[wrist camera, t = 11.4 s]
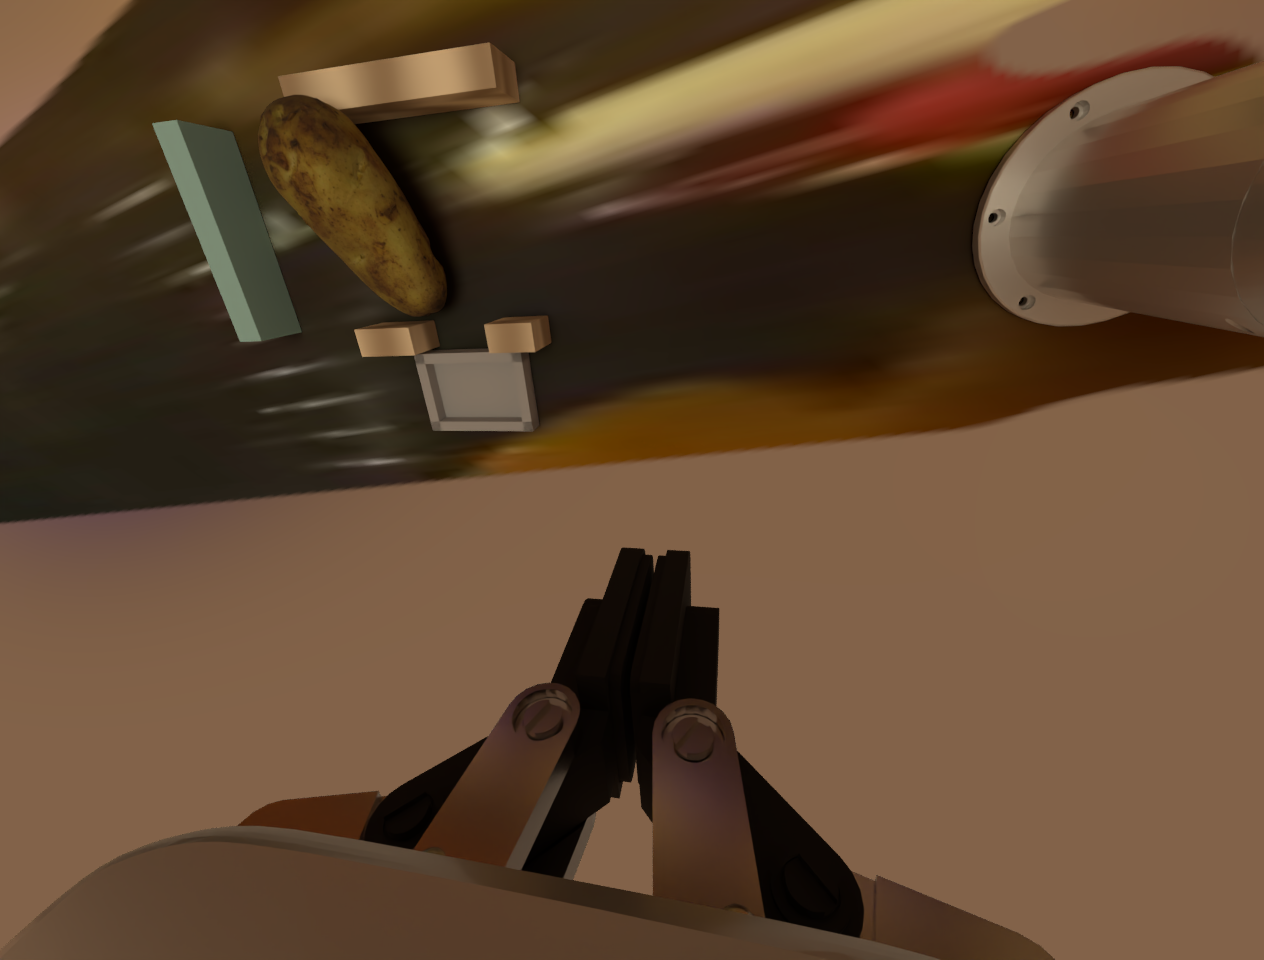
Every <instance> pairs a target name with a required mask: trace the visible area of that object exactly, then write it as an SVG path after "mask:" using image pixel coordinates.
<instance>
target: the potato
mask: <svg viewBox="0 0 1264 960" xmlns="http://www.w3.org/2000/svg"><path fill="white" fill-rule="evenodd" d="M258 144H259V151H260V156H261V159H262V162H263V165H264V167H265V170H266V172H267V174H268V176H269V178H270V180H271V182H272V184H273V185H274V186H275V188H276V189H277V190H278V192H279V193H280V194H281V195H282V196H283V197H284V198H285V200H286V201H287V202H288V203H289V204H290V205H291V206H292V207H293V208H294V209H295V210H296V211H297V212H298V214H299V215H300V216H301V217H302V219H303V220H304V221H305V223H306V224H307V225H309V226H310V227H311V228H312V229H313V231H314V232H315V233H316V234H317V235H318V236H319V237H320V238H321V239H322V240H323V241H324V242H325V243H326V244H327V245H328V246H329V247H330V248H331V249H332V250H333V251H334V252H335V253H336V254H337V255H338V256H339V257H340V258H341V259H342V260H343V261H344V262H345V263H346V264H347V266H348V267H349V268H350V269H351V270H352V271H353V272H354V273H355V274H356V275H357V276H358V277H359V278H360V279H361V280H362V281H363V282H364V283H365V284H366V285H367V286H368V287H369V288H370V289H371V290H372V291H374V292H375V293H376V294H377V295H378V296H379V297H381V298H382V299H383V300H385V301H386V302H387V303H389V304H390V305H392V306H393V307H395V308H396V309H398V310H400V311H402V312H404V313H406V314H408V315H410V316H415V317H420V316H429V315H430V314H431V313H436V312H438V311H440V310H441V309H442V308H443V307H444V304H445V302H446V297H447V283H446V275H445V273H444V270H443V267H442V265H441V264H440V263H439V262H438V261H437V260H436V258H435V257H434V255H433V253H432V251H431V248H430V241H429V238H428V236H427V235H426V233H425V231H424V229H423V228H422V226H421V224H420V223H419V221H418V220H417V218H416V216H415V214H414V212H413V210H412V208H411V206H410V204H409V202H408V201H407V199H406V197H405V195H404V194H403V192H402V191H401V189H400V188H399V186H398V185H397V183H396V182H395V180H394V179H393V177H392V175H391V174H390V173H389V171H388V170H387V168H386V167H385V165H384V164H383V162H382V161H381V159H380V158H379V157H378V156H377V154H376V153H375V151H374V150H373V148H372V147H371V145H370V144H369V142H368V140H367V139H366V138H365V137H364V135H363V134H362V133H361V132H360V130H359V129H358V128H357V127H356V125H355V124H354V123H353V122H352V121H351V120H350V119H349V118H348V117H347V116H346V115H345V114H344V113H342V112H341V111H339V110H338V109H336V108H334V107H333V106H331V105H329V104H327V103H325V102H323V101H321V100H319V99H317V98H313V97H310V96H307V95H290V96H286V97H283V98H280V99H277V100H275V101H273V102H272V103H270V104H269V105H268V106H267V107H266V109H265V111H264V112H263V114H262V115H261V120H260V127H259V131H258Z"/></svg>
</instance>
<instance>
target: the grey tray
mask: <svg viewBox="0 0 1264 960" xmlns="http://www.w3.org/2000/svg"><path fill="white" fill-rule="evenodd" d="M414 358H415V361H416V365H417V369H418V373H419V377H420V381H421V385H422V389H423V393H424V397H425V401H426V405H427V409H428V413H429V416H430V420H431V424H432V428H433V431H534V430H535V429H536V428H537V427H538V426H539V425H540V424H539V418H538V411H537V405H536V398H535V392H534V385H533V379H532V372H531V366H530V359H529V352H519V353H489V348H488V349H453V350H428V351H425V352H423V353H420V354H417V355H414Z"/></svg>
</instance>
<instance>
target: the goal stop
mask: <svg viewBox="0 0 1264 960" xmlns="http://www.w3.org/2000/svg"><path fill="white" fill-rule="evenodd" d="M152 124H153V127H154V129H155V132H156V134H157V137H158V139H159V142H160V144H161V147H162V149H163V152H164V154H165V157H166V159H167V162H168V164H169V167H170V169H171V172H172V174H173V177H174V179H175V181H176V184H177V186H178V189H179V191H180V194H181V196H182V199H183V201H184V204H185V206H186V209H187V211H188V214H189V216H190V219H191V221H192V224H193V226H194V229H195V231H196V234H197V236H198V238H199V241H200V243H201V246H202V248H203V251H204V253H205V256H206V258H207V261H208V263H209V266H210V268H211V271H212V273H213V276H214V278H215V281H216V283H217V286H218V288H219V291H220V293H221V295H222V298H223V300H224V303H225V305H226V308H227V310H228V313H229V315H230V318H231V320H232V323H233V325H234V328H235V330H236V333H237V335H238V338H239V340H240V342H248V341H264V340H268V339H273V338H278V337H282V336H287V335H291V334H296V333H300V332H302V331H301V328H300V325H299V322H298V319H297V316H296V313H295V311H294V308H293V305H292V302H291V299H290V296H289V293H288V290H287V287H286V285H285V282H284V279H283V276H282V273H281V270H280V267H279V264H278V262H277V259H276V256H275V253H274V250H273V247H272V244H271V241H270V238H269V236H268V233H267V230H266V227H265V224H264V221H263V218H262V215H261V212H260V210H259V207H258V204H257V201H256V198H255V195H254V192H253V189H252V187H251V184H250V181H249V178H248V175H247V172H246V169H245V166H244V163H243V161H242V158H241V155H240V152H239V149H238V146H237V143H236V140H235V137H234V135H233V132H231V131H227V130H222V129H217V128H212V127H208V126H203V125H198V124H193V123H189V122H184V121H179V120H173V121H166V122H159V123H152Z"/></svg>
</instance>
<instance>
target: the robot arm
mask: <svg viewBox="0 0 1264 960" xmlns="http://www.w3.org/2000/svg"><path fill="white" fill-rule="evenodd" d="M1071 109H1073V110H1074V115H1073V117H1072V118H1070V110H1071ZM991 213H993V214H994V219H993V221H992V222H990V223H989V222H988V218H989V215H990V214H991ZM972 250H973V257H974V265H975V268H976V271H977V274H978V276H979V279H980V281H981V284H982V285H983V287H984V288H985V290H986V291H987V292H988V294H989V295H990V297H991V298H992V299H993V300H994V301H995V302H996V303H998V304H999V305H1000V306H1001V307H1002V308H1003V309H1005V310H1006V311H1008V312H1010V313H1012V314H1014V315H1016V316H1018V317H1020V318H1022V319H1026V320H1029V321H1032V322H1036V323H1039V324H1046V325H1053V326H1082V325H1088V324H1093V323H1098V322H1103V321H1107V320H1110V319H1113V318H1116V317H1118V316H1121V315H1124V314H1127V313H1130V312H1133V313H1138V314H1144V315H1149V316H1154V317H1159V318H1165V319H1170V320H1175V321H1181V322H1186V323H1191V324H1197V325H1202V326H1207V327H1213V328H1218V329H1223V330H1229V331H1234V332H1239V333H1245V334H1250V335H1255V336H1261V337H1264V61H1261V62H1258V63H1255V64H1252V65H1249V66H1246V67H1243V68H1240V69H1238V70H1235V71H1232V72H1229V73H1226V74H1223V75H1220V76H1217V77H1213V76H1211V75H1210V74H1208V73H1206V72H1203V71H1198V70H1194V69H1189V68H1185V67H1180V66H1177V67H1149V68H1145V69H1140V70H1135V71H1130V72H1126V73H1122V74H1119V75H1117V76H1114V77H1112V78H1109V79H1106V80H1104V81H1101V82H1099V83H1096V84H1094V85H1092V86H1090V87H1088V88H1086V89H1084V90H1082V91H1080V92H1078V93H1076V94H1074V95H1072V96H1070V97H1069V98H1067V99H1066V100H1064V101H1063V102H1061V103H1060V104H1058V105H1057V106H1055V107H1054V108H1052V109H1051V110H1050V111H1048V112H1047V113H1045V114H1044V115H1043V116H1042V117H1041V118H1040V119H1039V120H1038V121H1036V122H1035V123H1034V124H1033V125H1032V126H1031V127H1030V128H1029V129H1028V130H1026V131H1025V132H1024V133H1023V134H1022V136H1021V137H1020V138H1019V139H1018V140H1017V141H1016V143H1015V144H1014V145H1013V146H1012V147H1011V148H1010V150H1009V151H1008V152H1007V153H1006V154H1005V156H1004V157H1003V159H1002V160H1001V162H1000V164H999V165H998V167H997V168H996V170H995V171H994V173H993V175H992V176H991V178H990V180H989V182H988V184H987V186H986V189H985V191H984V193H983V195H982V198H981V200H980V202H979V206H978V210H977V214H976V218H975V222H974V227H973V241H972ZM1022 297H1023V298H1024V301H1023V302H1022V303H1021V304H1020V305H1019V301H1020V299H1021V298H1022ZM718 645H719V608H709V607H695V606H691V572H690V551H676V550H667V554H666V556H658V559H657V563H656V567H655V572H654V568H653V556H652V555H645V550H644V549H637V548H621V551H620V553H619V556H618V559H617V562H616V564H615V567H614V570H613V573H612V575H611V578H610V581H609V584H608V587H607V589H606V592H605V595H604V597H603V599H589V598H588V599H586V600H585V602H584V604H583V606H582V608H581V611H580V613H579V616H578V618H577V621H576V623H575V625H574V628H573V630H572V632H571V635H570V637H569V640H568V642H567V645H566V647H565V650H564V652H563V654H562V657H561V660H560V662H559V664H558V667H557V669H556V671H555V674H554V677H553V679H552V681H551V683H543V684H537V685H535V686H532V687H530V688H527V689H526V690H524V691H523V692H521V693H520V694H518V695H517V696H516V697H515V699H514V700H513V701H512V702H511V703H510V704H509V706H508V707H507V709H506V710H505V712H504V713H503V715H502V716H501V718H500V719H499V721H498V722H497V724H496V725H495V727H494V729H493V730H492V731H491V733H490V734H489V736H488V737H486V738H484V739H482V740H480V741H479V742H477V743H475V744H474V745H472V746H470V747H468V748H466V749H465V750H463V751H461V752H459V753H457V754H456V755H454V756H452V757H450V758H449V759H447V760H445V761H443V762H442V763H440V764H438V765H437V766H435V767H433V768H431V769H429V770H427V771H426V772H424V773H422V774H420V775H419V776H417V777H415V778H413V779H412V780H410V781H408V782H407V783H405V784H403V785H401V786H400V787H398V788H397V789H395V790H394V791H393V792H391V793H390V794H389V795H388V796H381V795H380V793H379V791H371V792H361V793H350V794H340V795H330V796H319V797H309V798H300V799H299V798H298V799H288V800H281V801H277V802H274V803H270V804H267V805H265V806H264V807H262V808H260V809H258V810H256V811H255V812H253V813H252V814H250V815H249V816H248V817H247V818H246V819H245V820H243V821H242V822H241V823H240V824H239V825H238V826H229V827H220V828H211V829H205V830H200V831H195V832H190V833H186V834H182V835H178V836H174V837H170V838H166V839H163V840H159V841H157V842H154V843H151V844H148V845H145V846H142V847H140V848H138V849H135V850H133V851H130V852H128V853H125V854H123V855H121V856H119V857H117V858H115V859H113V860H111V861H110V862H108V863H106V864H104V865H103V866H101V867H99V868H98V869H96V870H95V871H94V872H92V873H90V874H89V875H88V876H86V877H85V878H83V879H82V880H81V881H79V882H78V883H77V884H76V885H74V886H73V887H72V888H71V889H69V890H68V891H67V892H65V893H64V894H63V895H62V896H61V897H59V898H58V899H57V900H56V901H54V902H53V903H52V904H51V905H50V906H49V907H47V909H45V910H44V911H43V912H42V913H40V914H39V915H38V916H37V917H36V918H35V919H34V920H33V921H32V922H31V923H29V924H28V925H27V926H26V927H25V928H24V929H23V930H22V931H20V932H19V933H18V934H17V935H16V936H15V937H14V938H13V939H12V940H10V941H9V942H8V943H7V944H6V945H5V946H4V947H3V948H2V949H1V950H0V960H1055V959H1054V958H1053V957H1052V956H1051V955H1050V954H1049V953H1048V952H1047V951H1045V950H1044V949H1043V948H1042V947H1041V946H1040V945H1038V944H1036V943H1035V942H1033V941H1031V940H1030V939H1028V938H1026V937H1024V936H1023V935H1021V934H1019V933H1017V932H1015V931H1012V930H1010V929H1008V928H1005V927H1003V926H1000V925H998V924H995V923H993V922H990V921H988V920H986V919H983V918H981V917H978V916H976V915H973V914H971V913H968V912H966V911H964V910H961V909H959V908H956V907H954V906H951V905H949V904H946V903H944V902H942V901H939V900H937V899H934V898H932V897H929V896H927V895H924V894H922V893H919V892H917V891H915V890H912V889H910V888H908V887H905V886H903V885H900V884H897V883H895V882H893V881H890V880H888V879H885V878H883V877H881V876H878V875H876V879H875V881H874V880H872V879H869V878H867V877H864V876H862V875H860V874H857V873H855V872H852V871H851V870H850V869H849V868H848V866H847V865H846V864H845V863H844V861H843V860H842V859H841V858H840V856H839V855H838V854H837V853H836V852H835V851H834V850H833V849H832V848H831V847H830V846H829V845H828V844H827V843H826V842H825V841H824V840H823V839H822V838H821V837H820V836H819V835H818V834H817V833H816V831H815V830H814V829H813V828H812V827H811V826H810V825H809V824H808V823H807V822H806V821H805V820H804V819H803V818H802V817H801V816H800V815H799V814H798V813H797V812H796V811H795V810H794V809H793V808H792V807H791V806H790V805H789V804H788V803H787V802H786V801H785V800H784V799H783V797H781V795H780V794H779V793H778V792H777V791H776V790H775V789H774V788H773V787H772V786H771V785H770V784H769V783H768V782H767V781H766V780H765V779H764V778H763V777H762V776H761V775H760V774H759V773H758V772H757V771H756V770H755V769H754V768H753V767H752V765H750V763H749V762H748V761H747V760H746V759H745V758H744V757H743V756H742V755H741V754H740V753H739V752H738V751H737V748H736V742H735V736H734V731H733V728H732V725H731V722H730V720H729V719H728V718H727V716H726V715H725V714H724V712H723V711H722V710H720V709H719V708H718V707H716V702H717V701H716V700H717V676H718ZM635 763H637V774H638V783H639V785H640V796H641V807H642V809H643V810H644V812H645V813H646V814H647V816H648V817H649V819H650V820H651V822H652V823H653V896H651V895H646V894H641V893H636V892H631V891H626V890H621V889H615V888H610V887H605V886H600V885H594V884H590V883H584V882H579V881H574V880H573V879H574V876H575V873H576V871H577V868H578V866H579V863H580V861H581V858H582V855H583V853H584V850H585V848H586V845H587V842H588V840H589V837H590V834H591V832H592V829H593V827H594V822H595V817H596V812H597V811H598V810H599V809H601V808H602V807H603V806H605V805H606V804H608V803H609V802H610V798H611V797H614V798H620V793H621V788H622V784H623V781H625V782H631V781H632V778H633V773H634V768H635Z"/></svg>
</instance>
